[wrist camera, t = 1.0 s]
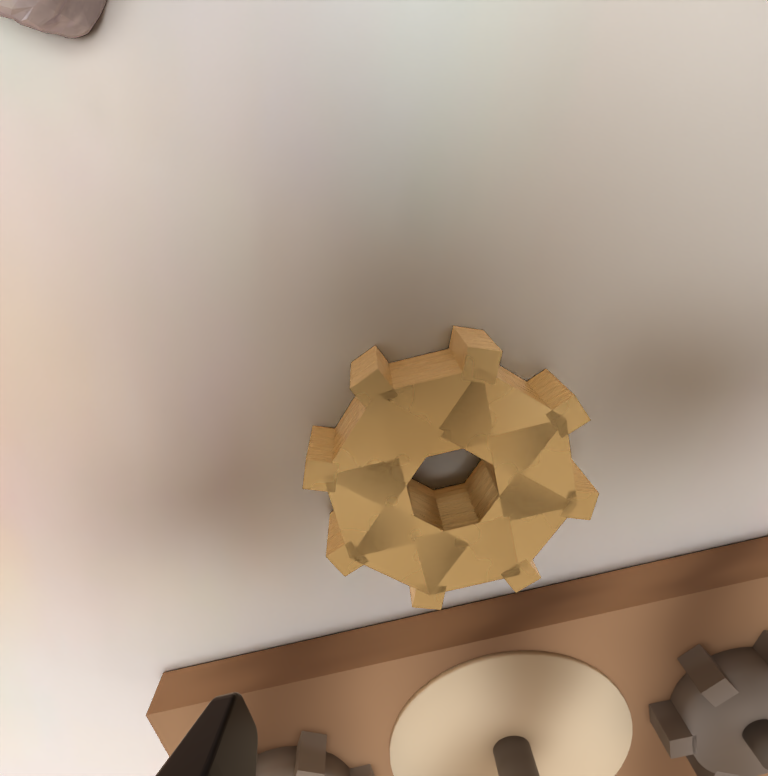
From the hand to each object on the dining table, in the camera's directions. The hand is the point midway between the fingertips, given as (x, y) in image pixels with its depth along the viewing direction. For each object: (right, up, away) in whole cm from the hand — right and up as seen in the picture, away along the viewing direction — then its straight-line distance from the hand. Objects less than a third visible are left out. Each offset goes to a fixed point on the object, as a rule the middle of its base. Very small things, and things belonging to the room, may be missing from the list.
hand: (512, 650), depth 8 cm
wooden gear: (0, +2, +7) cm, 7 cm away
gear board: (+2, -7, +10) cm, 12 cm away
